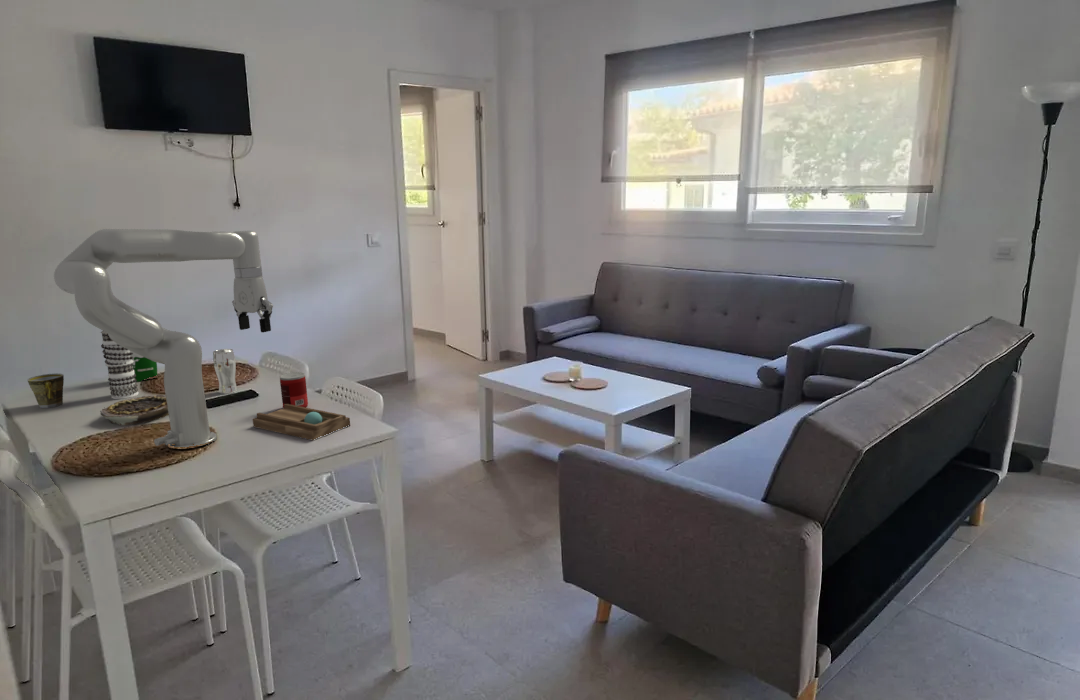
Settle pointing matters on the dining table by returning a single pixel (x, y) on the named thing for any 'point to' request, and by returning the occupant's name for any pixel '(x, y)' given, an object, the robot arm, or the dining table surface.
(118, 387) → the decorative candle
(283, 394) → the canned food
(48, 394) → the ceramic cup
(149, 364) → the milk carton
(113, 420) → the pie
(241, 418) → the dining table surface
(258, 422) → the track board
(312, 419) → the ball
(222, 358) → the beer glass
